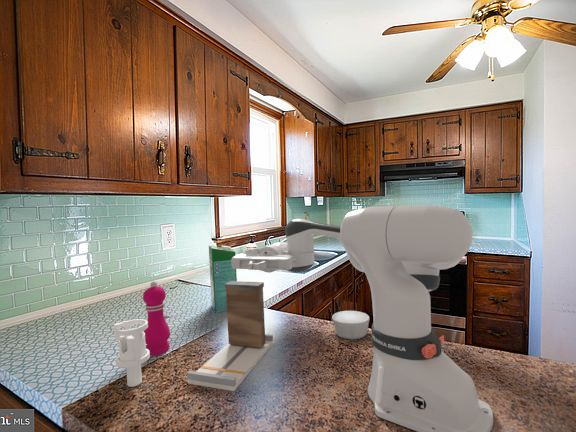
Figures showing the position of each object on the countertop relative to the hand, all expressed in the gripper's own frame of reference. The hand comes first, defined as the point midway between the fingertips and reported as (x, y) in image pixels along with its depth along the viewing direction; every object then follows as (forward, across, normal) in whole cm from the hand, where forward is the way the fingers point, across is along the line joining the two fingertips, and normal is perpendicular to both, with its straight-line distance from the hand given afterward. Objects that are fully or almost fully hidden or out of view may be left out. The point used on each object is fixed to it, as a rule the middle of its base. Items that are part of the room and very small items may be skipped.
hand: (252, 267), depth 92 cm
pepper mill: (+13, +25, -22) cm, 36 cm away
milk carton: (-25, +25, -22) cm, 41 cm away
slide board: (+13, 0, -22) cm, 26 cm away
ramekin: (-11, -27, -22) cm, 37 cm away
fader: (+6, 0, -21) cm, 21 cm away
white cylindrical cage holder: (+28, +18, -22) cm, 40 cm away
